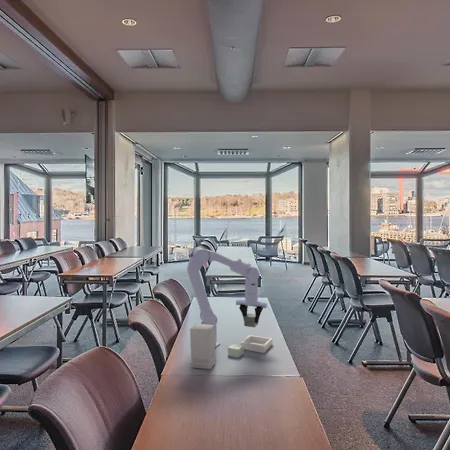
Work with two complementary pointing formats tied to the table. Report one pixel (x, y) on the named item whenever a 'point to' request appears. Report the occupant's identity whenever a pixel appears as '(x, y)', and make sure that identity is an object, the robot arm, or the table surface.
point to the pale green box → (235, 350)
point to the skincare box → (202, 346)
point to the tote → (257, 343)
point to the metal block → (250, 320)
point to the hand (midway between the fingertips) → (251, 321)
